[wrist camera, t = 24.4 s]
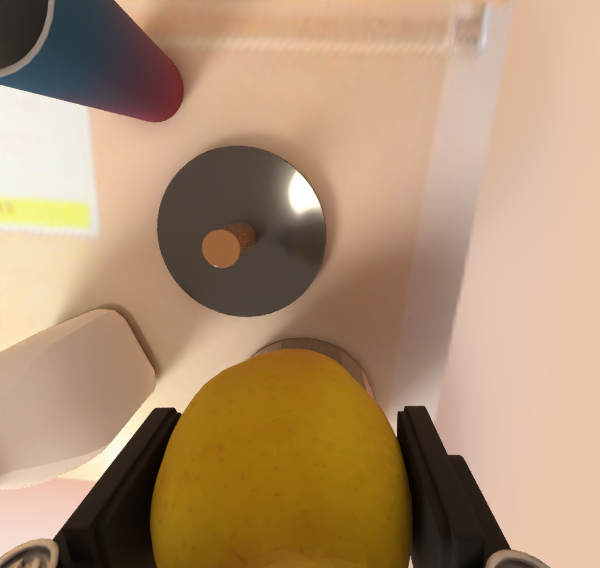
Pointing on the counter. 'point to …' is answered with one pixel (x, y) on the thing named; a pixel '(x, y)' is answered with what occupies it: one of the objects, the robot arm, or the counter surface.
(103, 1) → the cup
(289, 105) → the counter surface
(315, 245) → the lid
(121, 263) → the counter surface
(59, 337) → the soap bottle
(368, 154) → the counter surface
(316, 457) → the apple
